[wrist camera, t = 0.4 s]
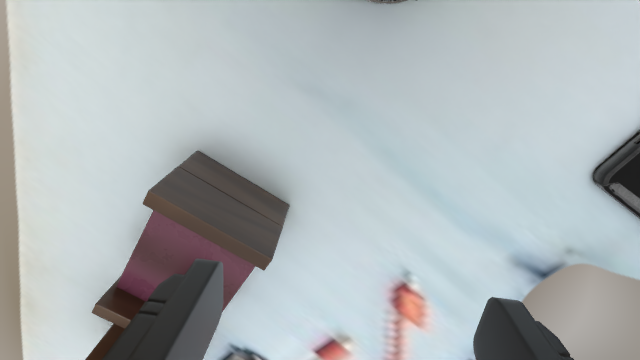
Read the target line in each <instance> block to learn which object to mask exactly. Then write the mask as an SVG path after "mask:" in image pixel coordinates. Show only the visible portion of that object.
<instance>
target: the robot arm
mask: <svg viewBox="0 0 640 360" xmlns="http://www.w3.org/2000/svg"><path fill="white" fill-rule="evenodd" d="M366 1H369V2H373V3H380V4H393V3H400V2H404V1H407V0H366ZM415 1H416V0H415ZM222 308H223V263H222V262H221V261H213V260H206V259H195V260H194V262H193V263H192V265H191V266H190V268H189V269H188V270H187V272H186V273H185V275H182V274H173V275H172V276H170V277H169V278H167V279H166V280H165V281H163V282H162V283H160V284H159V285H158V286H157V287H156V289H155V290H154V291H153V293H152V294H151V295H150V297H149V298H148V301H146V302H145V303H144V304H143V306H142V307H141V308H140V310H139V313H137V314H136V315H135V316H134V318H133V319H132V320H131V322H130V323H129V324H128V325H127V327H126V328H125V329H124V331H123V332H122V333H121V335H120V336H119V337H118V339H117V340H116V341H115V343H114V344H113V345H112V346H111V348H110V349H109V350H108V352H107V353H106V354H105V356H104V357H103V358H102V360H203V357H204V355H205V353H206V350H207V348H208V346H209V344H210V341H211V339H212V337H213V335H214V332H215V330H216V328H217V325H218V323H219V320H220V317H221V313H222ZM473 346H474V353H475V357H476V360H574V359H573V358H571V357H570V354H569V352H568V351H567V350H566V348H565V347H564V345H563V344H562V343H561V341H560V340H559V339H558V337H556V336H555V335H554V334H553V333H552V332H551V331H549V330H548V329H547V328H546V327H545V326H543V325H542V324H541V323H540V322H539V321H535V320H534V318H533V317H532V316H531V314H530V313H529V311H528V310H527V309H526V307H525V306H524V304H523V303H522V302H520V301H518V300H510V299H502V298H495V297H492V298H490V299H489V300H488V302H487V304H486V306H485V309H484V312H483V314H482V317H481V319H480V322H479V325H478V327H477V330H476V332H475V335H474V341H473Z"/></svg>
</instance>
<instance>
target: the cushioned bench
mask: <svg viewBox="0 0 640 360" xmlns="http://www.w3.org/2000/svg"><path fill="white" fill-rule="evenodd" d="M143 204H144V205H145V206H147V207H149V208H151V209H153V212H152V214H151V217H150V219H149V221H148V223H147V225H146V227H145V229H144V231H143V233H142V235H141V237H140V239H139V241H138V243H137V245H136V247H135V249H134V251H133V253H132V255H131V257H130V259H129V261H128V263H127V265H126V267H125V269H124V272H123V274H122V275H121V276H120V278H119V279H118V280H117V281H116V282H115V283H114V284H113V285H112V286H111V288H110V289H109V290H108V291H107V292H106V293H105V294H104V295H103V296H102V297H101V299H100V300H99V301H98V302H97V303H96V304H95V307H94V309H93V311H92V313H93V314H95V315H97V316H99V317H101V318H104V319H106V320H108V321H110V322H112V323H114V324H116V325H118V326H120V327H123V328H126V327H127V325H128V324H129V323H130V322H131V320H132V319H133V318H134V316H135V315H136V314H137V313H139V310H140V308H141V307H142V306H143V304H144V303H145V302H146V301H148V298H149V297H150V295H151V294H152V293H153V291H154V290H155V289H156V287H157V286H158V285H159V284H160V283H162V282H163V281H165V280H166V279H167V278H169V277H170V276H172V275H173V274H182V275H185V273H186V272H187V270H188V269H189V268H190V266H191V265H192V263H193V262H194V260H195V259H206V260H213V261H221V262H222V263H223V308H222V312H223V310H224V309H225V307H226V306H227V305H228V303H229V302H230V301H231V299H232V298H233V296H234V295H235V294H236V292H237V291H238V290H239V288H240V287H241V285H242V284H243V283H244V281H245V280H246V278H247V277H248V276H249V274H250V273H251V272H252V270H253V269H254V267H255V266H257V267H258V268H260V269H262V270H265V269H266V267H267V266H268V265H269V263H270V262H271V261H272V259H273V256H274V253H275V250H276V246H277V243H278V240H279V237H280V234H281V231H282V228H283V224H284V221H285V218H286V215H287V212H288V209H289V205H288V204H286V203H285V202H283V201H281V200H280V199H278V198H276V197H275V196H273V195H271V194H270V193H268V192H266V191H265V190H263V189H261V188H260V187H258V186H256V185H255V184H253V183H251V182H250V181H248V180H246V179H244V178H243V177H241V176H239V175H238V174H236V173H234V172H233V171H231V170H229V169H228V168H226V167H224V166H223V165H221V164H219V163H218V162H216V161H214V160H213V159H211V158H209V157H208V156H206V155H204V154H202V153H201V152H199V151H196V152H195V153H194V154H193V155H191V156H190V157H189V158H188V159H187V160H185V161H184V162H183V163H182V164H180V165H179V166H178V167H177V168H175V169H174V170H173V171H172V172H171V173H169V174H168V175H167V176H166V177H164V178H163V179H162V180H161V181H160V182H158V183H157V184H156V185H155V186H154V187H152V188H151V189H150V190H149V191H148V193H147V195H146V197H145V199H144V202H143Z"/></svg>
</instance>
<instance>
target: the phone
mask: <svg viewBox="0 0 640 360" xmlns="http://www.w3.org/2000/svg"><path fill="white" fill-rule="evenodd" d="M593 179H594V182H595V184H596V185H597V186H598V187H600V188H601V189H602V190H604V191H605V192H606V193H607V194H609V195H610V196H611V197H613V198H614V199H615V200H617V201H618V202H619V203H620V204H622V205H623V206H624V207H626V208H627V209H628V210H629V211H631V212H632V213H633V214H635V215H636V216H637V217H639V218H640V132H639V133H638V134H637V135H636V136H634V137H633V138H632V139H631V140H630V141H629V142H627V143H626V144H625V145H624V146H623V147H622V148H620V149H619V150H618V151H617V152H616V153H615V154H613V155H612V156H611V157H610V158H609V159H608V160H606V161H605V162H604V163H603V164H602V165H601V166H600V167H599V168H598V169H597V170H596V172H595V173H594V178H593Z"/></svg>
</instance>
